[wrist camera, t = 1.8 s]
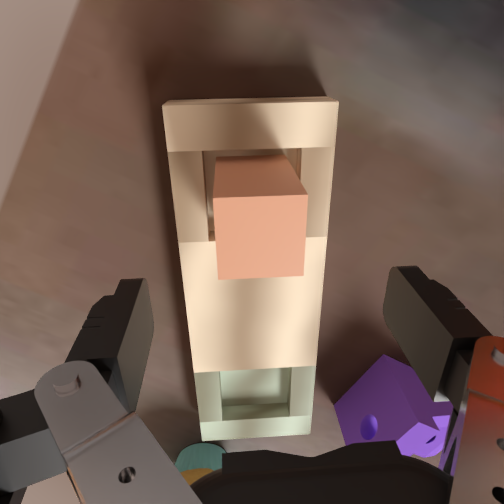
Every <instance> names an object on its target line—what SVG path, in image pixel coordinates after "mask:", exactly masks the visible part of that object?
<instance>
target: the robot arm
mask: <svg viewBox="0 0 504 504" xmlns="http://www.w3.org/2000/svg"><path fill="white" fill-rule="evenodd" d="M383 315H384V319H385V322H386V324H387V326H388V328H389V329H390V331H391V333H392V334H393V336H394V338H395V339H396V341H397V343H398V344H399V346H400V348H401V349H402V351H403V353H404V354H405V356H406V358H407V359H408V361H409V362H410V364H411V366H412V367H413V369H414V371H415V372H416V374H417V376H418V377H419V379H420V381H421V382H422V384H423V386H424V387H425V389H426V391H427V392H428V394H429V396H430V397H431V399H432V401H433V402H442V401H450V402H451V404H452V405H453V408H452V411H451V414H450V418H449V423H448V427H447V432H446V436H445V441H444V445H443V450H442V454H441V459H440V463H439V467H438V468H437V467H435V466H433V465H431V464H429V463H427V462H424V461H422V460H419V459H416V458H413V457H409V456H406V455H402V454H401V452H400V450H399V448H398V445H397V443H396V441H395V440H388V441H375V442H362V443H352V444H350V445H347V446H344V447H341V448H338V449H336V450H333V451H330V452H327V453H324V454H322V455H319V456H316V457H304V456H298V455H293V454H287V453H281V452H275V451H269V450H257V451H244V452H231V453H222V468H220V469H217V470H214V471H212V472H210V473H208V474H206V475H204V476H203V477H201V478H200V479H198V480H196V481H195V482H193V483H192V484H191V485H190V486H189V484H188V483H187V482H186V480H185V479H184V478H183V476H182V475H181V473H180V472H179V471H178V469H177V468H176V467H175V465H174V464H173V462H172V461H171V460H170V458H169V457H168V456H167V454H166V453H165V451H164V450H163V449H162V447H161V446H160V445H159V443H158V442H157V440H156V439H155V438H154V436H153V435H152V434H151V432H150V431H149V429H148V428H147V427H146V425H145V424H144V423H143V421H142V420H141V418H140V417H139V416H138V415H137V414H136V413H135V410H136V406H137V402H138V398H139V393H140V389H141V385H142V381H143V376H144V372H145V368H146V364H147V359H148V355H149V351H150V346H151V342H152V338H153V331H154V321H153V313H152V307H151V301H150V296H149V290H148V284H147V281H146V279H145V278H139V279H121V280H120V282H119V284H118V287H117V289H116V291H115V294H114V295H109V296H103V297H102V298H101V299H100V300H99V301H98V302H97V303H95V304H94V305H93V306H92V308H91V310H90V312H89V314H88V316H87V320H85V322H84V324H83V326H82V329H81V330H80V332H79V334H78V336H77V338H76V340H75V342H74V344H73V346H72V348H71V350H70V352H69V355H68V357H67V359H66V361H65V363H63V364H61V365H58V366H56V367H54V368H52V369H51V370H49V371H48V372H47V373H45V374H44V375H43V376H42V377H41V378H40V380H39V381H38V382H37V384H36V386H35V389H33V390H30V391H27V392H24V393H21V394H18V395H14V396H11V397H8V398H4V399H1V400H0V504H21V502H22V499H23V497H24V494H25V491H26V489H27V486H29V485H32V484H35V483H37V482H40V481H43V480H45V479H48V478H51V477H53V476H56V475H58V474H61V473H64V472H66V474H67V476H68V478H69V480H70V483H71V485H72V487H73V489H74V491H75V494H76V496H77V498H78V500H79V502H80V504H504V337H499V336H493V335H492V334H491V333H490V332H489V331H488V330H487V329H486V328H485V327H484V326H483V325H482V324H481V323H480V322H479V321H478V319H477V318H476V317H475V316H474V315H473V314H472V313H471V312H470V311H469V310H468V309H465V306H464V305H463V304H462V303H461V302H460V300H457V297H456V296H455V295H454V294H453V293H452V292H451V291H450V290H449V289H448V288H447V287H445V286H443V285H442V284H440V283H438V282H436V281H435V280H430V279H429V278H428V277H427V276H426V275H425V274H424V273H423V272H422V271H421V270H420V268H419V267H417V266H399V267H392V268H391V270H390V272H389V277H388V282H387V287H386V293H385V298H384V303H383Z"/></svg>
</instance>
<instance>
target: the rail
mask: <svg viewBox="0 0 504 504" xmlns="http://www.w3.org/2000/svg"><path fill="white" fill-rule="evenodd" d="M338 105H339V101H337V100H334V99H332V98H330V97H328V96H321V97H279V98H236V99H193V100H168V101H167V102H166V103H165V104H163V105H162V110H163V118H164V127H165V135H166V143H167V152H168V160H169V168H170V177H171V185H172V194H173V202H174V210H175V219H176V227H177V235H178V244H179V252H180V261H181V269H182V277H183V286H184V294H185V302H186V311H187V319H188V328H189V336H190V344H191V353H192V361H193V369H194V378H195V386H196V395H197V403H198V411H199V420H200V428H201V436H202V441H212V440H227V439H242V438H257V437H271V436H286V435H301V434H310V429H311V418H312V406H313V395H314V383H315V371H316V360H317V348H318V337H319V325H320V313H321V302H322V290H323V279H324V267H325V256H326V244H327V232H328V221H329V209H330V198H331V186H332V175H333V163H334V151H335V140H336V128H337V117H338ZM254 155H285V156H286V157H287V159H288V161H289V162H290V164H291V166H292V168H293V169H294V171H295V173H296V175H297V176H298V178H299V180H300V181H301V183H302V185H303V187H304V188H305V190H306V192H307V193H308V207H307V224H306V242H305V260H304V276H292V277H271V278H249V279H228V280H218V270H217V256H216V241H215V226H214V211H213V187H214V176H215V164H216V157H221V156H254Z"/></svg>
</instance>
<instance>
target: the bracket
mask: <svg viewBox="0 0 504 504" xmlns="http://www.w3.org/2000/svg"><path fill="white" fill-rule="evenodd" d="M334 408H335V411H336V414H337V417H338V421H339V424H340V427H341V431H342V434H343V437H344V441H345V444H346V446H347V445H350V444H352V443H362V442H375V441H388V440H395V441H396V443H397V445H398V448H399V450H400V452H401V454H402V455H406V456H409V457H410V456H411V455H412V454H416V455H418V456H421V457H424V458H425V457H430V456H434V455H436V454H437V453H439V452H440V451H441V450H442V449H443V445H444V441H445V436H446V432H447V427H448V423H449V418H450V414H451V411H452V408H453V405H452V404H451V402H450V401H442V402H433V401H432V399H431V397H430V396H429V394H428V392H427V391H426V389H425V387H424V386H423V384H422V382H421V381H420V379H419V377H418V376H417V374H416V372H415V371H414V369H413V368H412V367H410V366H408V365H406V364H403V363H401V362H399V361H397V360H395V359H393V358H391V357H389V356H387V355H384V354H383V355H382V356H381V357H380V358H379V359H378V360H377V361H376V362H375V363H374V364H373V365H372V366H371V367H370V368H369V369H368V370H367V371H366V372H365V373H364V374H363V376H362V377H361V378H360V379H359V380H358V381H357V382H356V383H355V384H354V385H353V386H352V387H351V388H350V389H349V390H348V391H347V392H346V393H345V394H344V395H343V396H342V397H341V398H340V399H339V400H338V401H337V402H336V403H335V404H334Z"/></svg>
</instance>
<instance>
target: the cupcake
mask: <svg viewBox="0 0 504 504" xmlns="http://www.w3.org/2000/svg"><path fill="white" fill-rule="evenodd" d="M222 453H226V452H225V450H224V449H222V448H221V447H219V446H217V445H215V444H210V443H197V444H193V445H190V446H188V447H186V448H185V449H183V450H182V451H181V452H180V454H179V456H178V458H177V460H176V463H175V467H176V468H177V469H178V471H179V472H180V473H181V475H182V476H183V478H184V479H185V480H186V482H187V483H188V484H189V486H190V485H191V484H192V483H193V482H195V481H196V480H198V479H200V478H201V477H203V476H204V475H206V474H208V473H210V472H212V471H214V470H217V469H220V468H222Z"/></svg>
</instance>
